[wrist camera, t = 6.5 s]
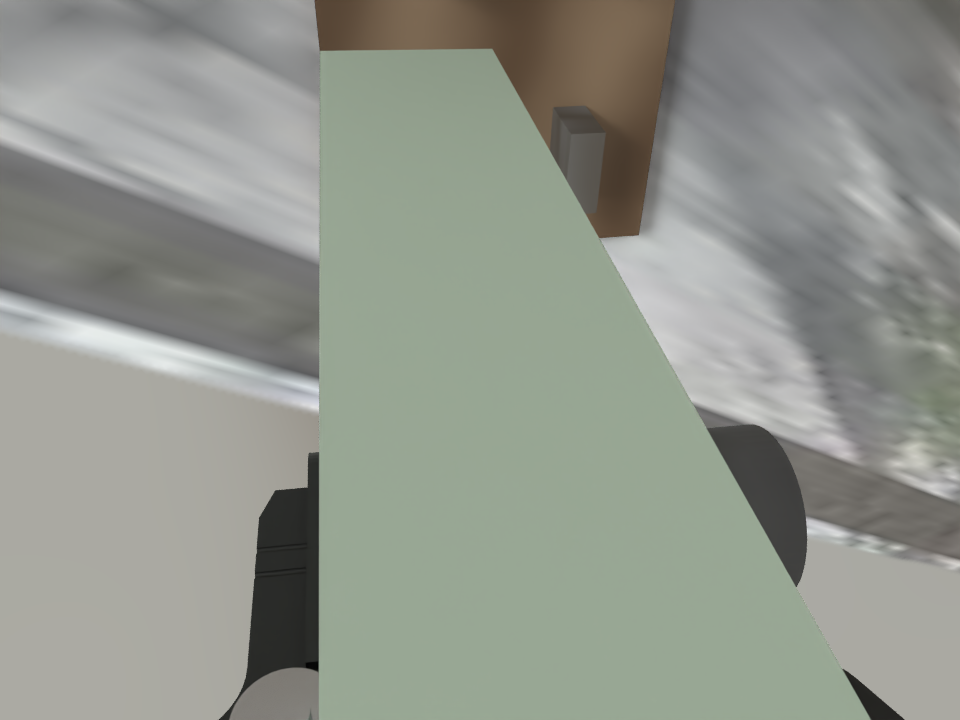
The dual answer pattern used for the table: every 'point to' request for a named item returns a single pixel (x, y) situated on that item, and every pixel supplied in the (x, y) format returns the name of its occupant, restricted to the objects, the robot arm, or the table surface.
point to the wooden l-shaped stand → (547, 77)
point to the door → (524, 444)
